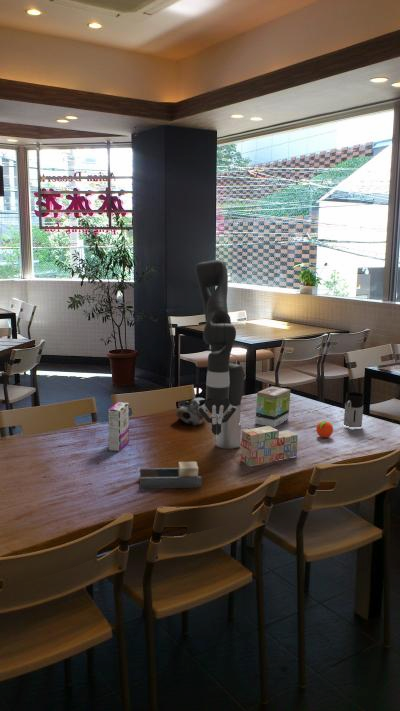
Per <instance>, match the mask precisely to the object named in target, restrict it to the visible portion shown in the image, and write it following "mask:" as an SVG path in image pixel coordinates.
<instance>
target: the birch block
mask: <svg viewBox="0 0 400 711" xmlns="http://www.w3.org/2000/svg"><path fill="white" fill-rule="evenodd" d="M178 468H179V477H191V476H198V468H199V466H198V462H197V461H178Z"/></svg>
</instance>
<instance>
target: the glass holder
mask: <svg viewBox="0 0 400 711" xmlns="http://www.w3.org/2000/svg"><path fill="white" fill-rule="evenodd" d="M364 396H365V395H364V393H361V392H358V391H355V392H354V391H350V392H346V394H345V403H344V414H343V416H344V417H343V424H344V425H346V426H349V427H361V426H362V427H363V414H364Z"/></svg>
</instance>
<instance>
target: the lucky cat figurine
mask: <svg viewBox="0 0 400 711" xmlns="http://www.w3.org/2000/svg"><path fill="white" fill-rule="evenodd" d="M205 400H206V398H203V397H195V398H192V399H191V401H190V402H189V401H188V400H186V401H185V402H184V405H182V406H181V405H180V407H178V409H177V410H176V412H173V415H175V416H176V417H177V418H179V419H180V420H181V421H183V422H184V423H185V424H188V425H189V424H190V425H191V426H193V427H195V426H198V425H201V424H202V422H203V419H204V417H203V415H202V414H201V413H200V411H199V410H198V407H199V406H202V405H203V404H204V402H205ZM205 409H206V411H205V412H206V414H207V415H209V410H208V409H207V408H206V407H205Z"/></svg>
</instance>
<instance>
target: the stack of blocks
mask: <svg viewBox="0 0 400 711" xmlns="http://www.w3.org/2000/svg"><path fill="white" fill-rule="evenodd" d="M240 448H241V449H240V450H241V451H240V461H241V463H243V462H244V464H245V463H246V464H245V465H247V464H248V465H250V466H249V467H252V466H251V465H255V466H258V465H257V464H261V465H264V464H263V463H267V464H269V463H268V462H271V461H276V460H279V459H284V458H290V457H293V456H296V457H298V456H297V454H298V434H296V433H295V432H292V431H290V430H288V429H287V430H282V431H279V430H278V429H276V427H270V426H261V427H254V428H246V429H241V439H240ZM276 462H277V461H276ZM271 463H272V462H271ZM248 465H247V466H248Z"/></svg>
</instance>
